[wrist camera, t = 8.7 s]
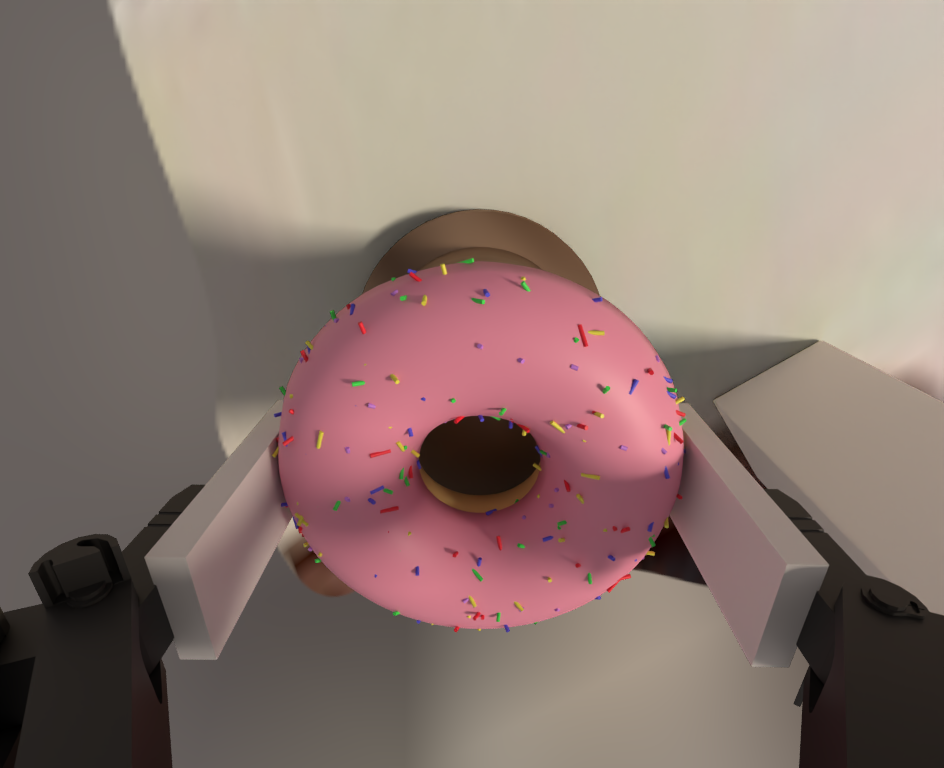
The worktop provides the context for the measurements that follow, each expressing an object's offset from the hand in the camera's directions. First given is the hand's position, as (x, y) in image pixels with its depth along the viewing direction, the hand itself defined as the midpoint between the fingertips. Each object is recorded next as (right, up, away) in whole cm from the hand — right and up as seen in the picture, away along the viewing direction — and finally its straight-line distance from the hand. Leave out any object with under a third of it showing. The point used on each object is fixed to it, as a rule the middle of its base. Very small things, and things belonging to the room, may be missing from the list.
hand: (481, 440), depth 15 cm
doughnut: (0, +1, 0) cm, 1 cm away
